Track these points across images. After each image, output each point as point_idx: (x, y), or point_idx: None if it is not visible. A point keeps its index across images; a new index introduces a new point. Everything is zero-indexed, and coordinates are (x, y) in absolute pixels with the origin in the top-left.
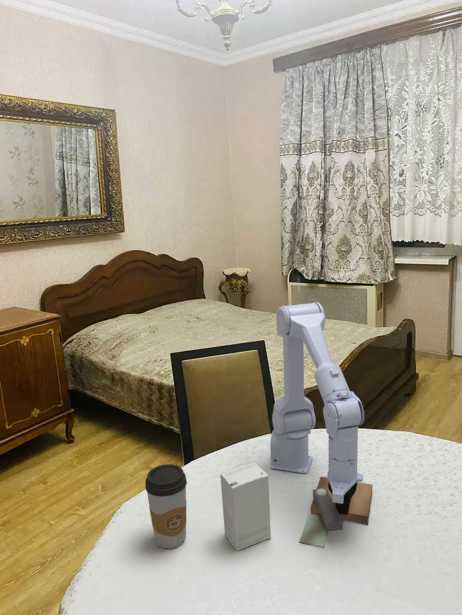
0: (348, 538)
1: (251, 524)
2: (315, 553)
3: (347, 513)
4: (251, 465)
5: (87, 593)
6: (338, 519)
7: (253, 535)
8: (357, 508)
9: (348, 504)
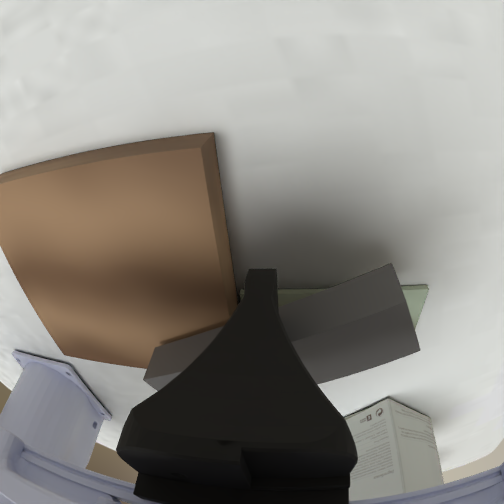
0: (356, 207)
1: (427, 462)
2: (451, 301)
3: (276, 275)
4: None
5: (475, 458)
6: (391, 322)
7: (420, 432)
8: (156, 216)
9: (281, 323)
